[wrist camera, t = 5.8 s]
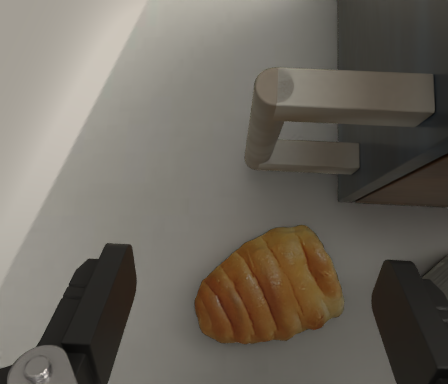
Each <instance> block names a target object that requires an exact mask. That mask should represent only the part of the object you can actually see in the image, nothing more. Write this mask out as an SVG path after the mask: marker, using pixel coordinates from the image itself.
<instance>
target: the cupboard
mask: <svg viewBox="0 0 448 384" xmlns="http://www.w3.org/2000/svg"><path fill="white" fill-rule="evenodd" d="M355 203H368V204H387V205H407V206H427V207H447V208H448V153H447V154H445V155H443V156H441V157H439V158H437V159H435V160H433V161H431V162H429V163H427V164H425V165H423V166H421V167H419V168H418V169H416V170H414V171H412V172H410V173H408V174H406V175H404V176H402V177H400V178H398V179H396V180H394V181H392V182H390V183H388V184H386V185H384V186H382V187H380V188H378V189H376V190H374V191H373V192H371V193H369V194H367V195H365V196H363V197H361V198H359V199H357V200H355Z"/></svg>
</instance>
